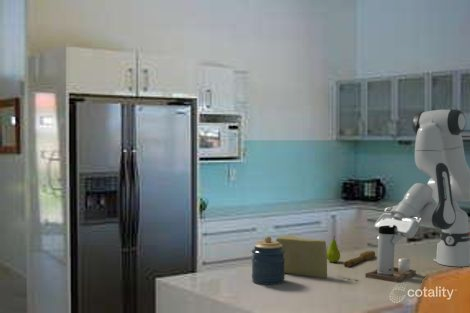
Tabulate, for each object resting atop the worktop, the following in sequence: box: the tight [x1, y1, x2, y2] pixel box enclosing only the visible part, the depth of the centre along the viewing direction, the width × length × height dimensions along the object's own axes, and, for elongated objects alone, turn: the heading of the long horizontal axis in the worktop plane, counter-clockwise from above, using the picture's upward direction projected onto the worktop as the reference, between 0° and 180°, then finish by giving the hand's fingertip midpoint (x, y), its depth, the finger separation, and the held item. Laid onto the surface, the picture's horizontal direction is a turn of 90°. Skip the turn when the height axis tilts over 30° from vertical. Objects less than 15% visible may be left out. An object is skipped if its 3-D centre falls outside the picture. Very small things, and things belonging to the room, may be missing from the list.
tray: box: [364, 266, 417, 283], centre depth 242 cm, size 18×13×3 cm
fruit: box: [327, 235, 341, 263], centre depth 274 cm, size 6×6×12 cm
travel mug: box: [377, 225, 396, 277], centre depth 240 cm, size 6×7×20 cm
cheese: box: [275, 234, 328, 279], centre depth 250 cm, size 22×10×15 cm, turn 49°
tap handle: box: [343, 250, 376, 268], centre depth 275 cm, size 3×3×30 cm
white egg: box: [397, 257, 411, 275], centre depth 244 cm, size 4×4×6 cm
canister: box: [251, 235, 286, 285], centre depth 238 cm, size 13×13×18 cm
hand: (385, 241), depth 240 cm, fingers closed on travel mug, 6 cm apart
